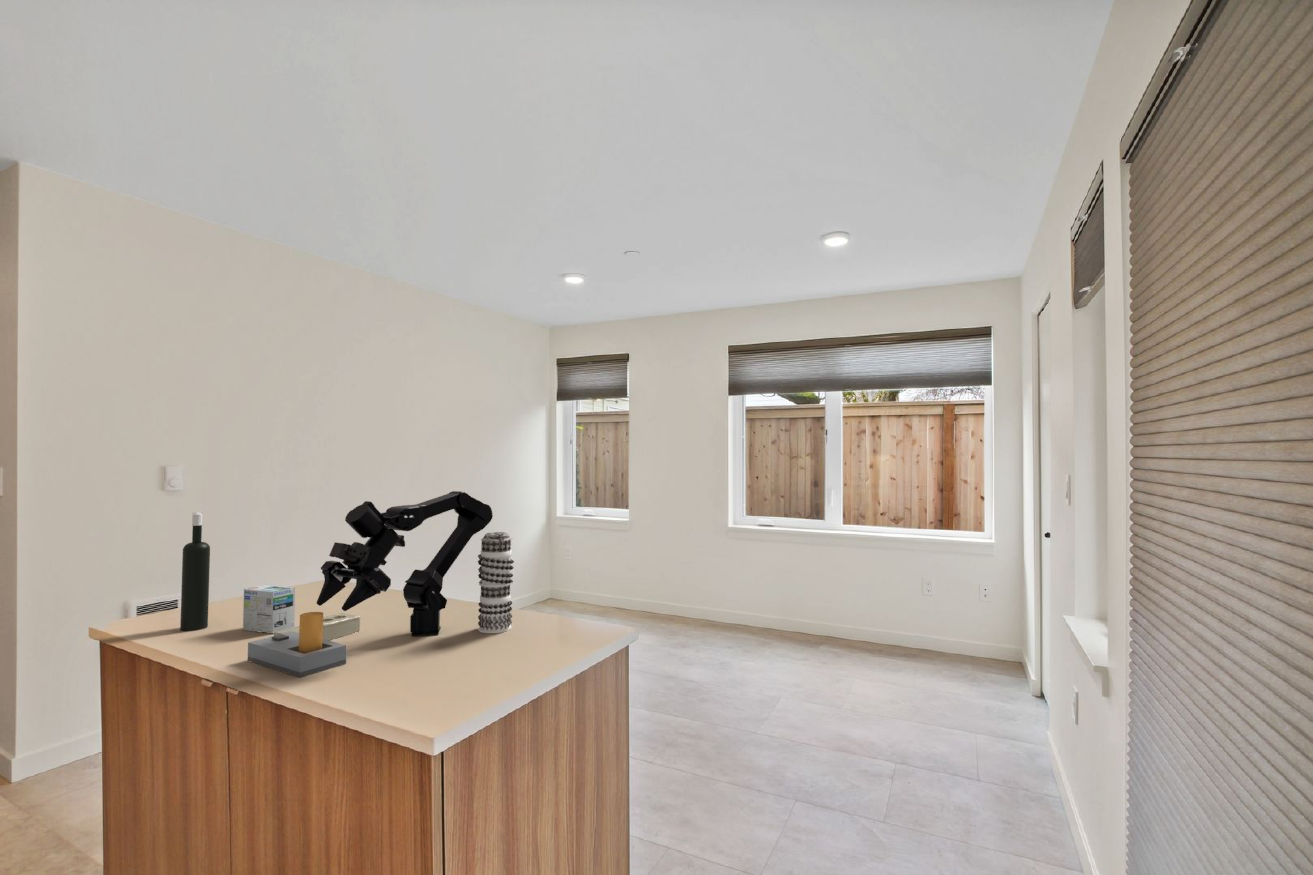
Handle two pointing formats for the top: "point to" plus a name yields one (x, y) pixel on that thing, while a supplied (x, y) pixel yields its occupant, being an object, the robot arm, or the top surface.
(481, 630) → the decorative candle
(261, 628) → the light bulb box
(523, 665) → the top surface
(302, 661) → the grey block with pocket
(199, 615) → the wine bottle
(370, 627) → the top surface
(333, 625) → the electrical outlet
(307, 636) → the orange cylinder
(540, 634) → the top surface
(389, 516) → the robot arm
